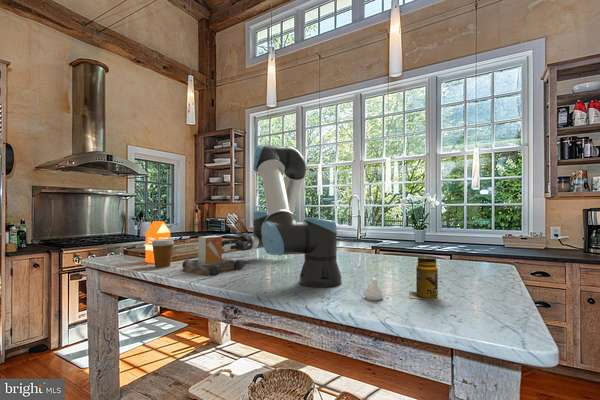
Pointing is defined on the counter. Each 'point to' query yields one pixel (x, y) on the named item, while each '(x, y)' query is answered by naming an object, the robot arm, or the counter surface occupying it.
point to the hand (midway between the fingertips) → (213, 247)
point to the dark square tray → (212, 266)
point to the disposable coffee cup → (162, 252)
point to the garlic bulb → (373, 291)
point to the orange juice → (155, 237)
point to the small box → (209, 249)
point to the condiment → (426, 279)
